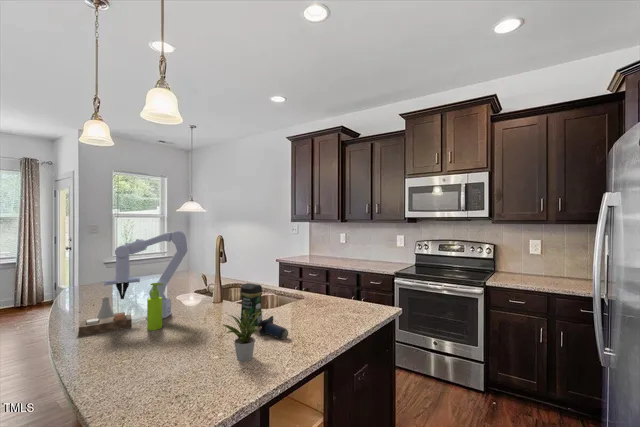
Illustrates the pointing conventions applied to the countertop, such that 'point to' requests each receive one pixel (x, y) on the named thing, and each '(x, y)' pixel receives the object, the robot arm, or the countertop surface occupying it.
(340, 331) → the countertop surface
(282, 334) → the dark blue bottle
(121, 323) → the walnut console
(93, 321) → the white cube
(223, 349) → the countertop surface
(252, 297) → the coffee jar
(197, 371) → the countertop surface
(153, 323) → the soap dispenser
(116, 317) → the salmon pink cube
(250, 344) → the house plant
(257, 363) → the countertop surface
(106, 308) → the flask
